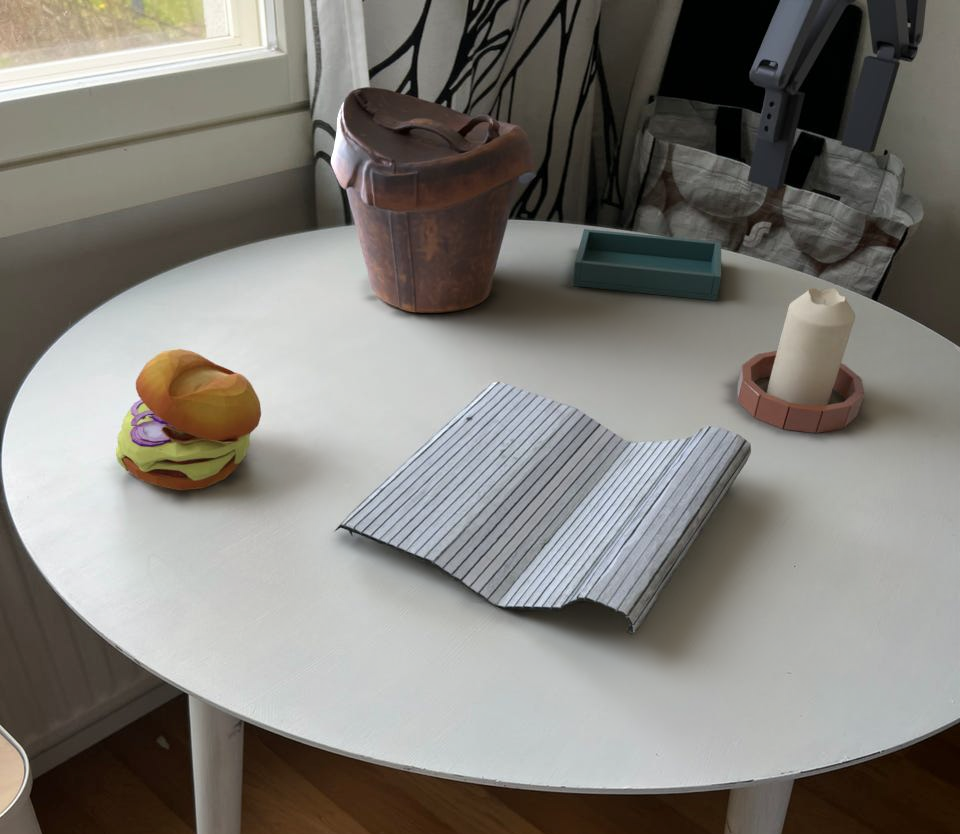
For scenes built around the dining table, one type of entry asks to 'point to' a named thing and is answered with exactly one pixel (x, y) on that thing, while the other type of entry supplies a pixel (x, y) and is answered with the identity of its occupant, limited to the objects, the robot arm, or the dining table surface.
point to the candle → (811, 347)
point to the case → (428, 195)
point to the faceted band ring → (798, 414)
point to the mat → (551, 504)
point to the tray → (648, 264)
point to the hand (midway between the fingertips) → (813, 166)
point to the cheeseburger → (187, 422)
